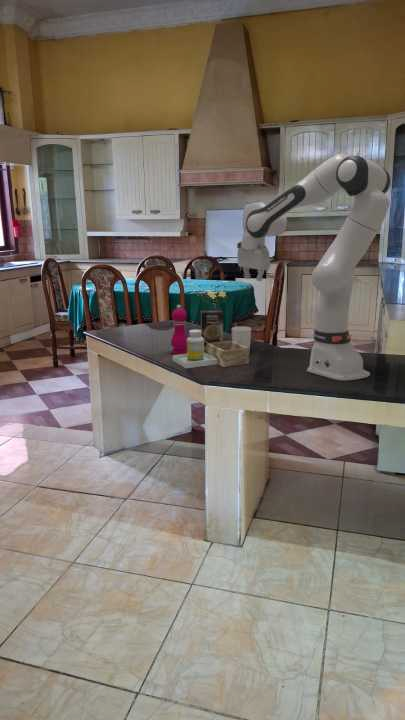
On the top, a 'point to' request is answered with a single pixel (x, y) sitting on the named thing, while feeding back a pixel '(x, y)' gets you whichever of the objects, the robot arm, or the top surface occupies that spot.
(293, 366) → the top surface
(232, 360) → the beech box
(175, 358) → the sage tray
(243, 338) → the white cup
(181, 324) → the pepper mill
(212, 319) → the coffee box
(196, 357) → the pill bottle
